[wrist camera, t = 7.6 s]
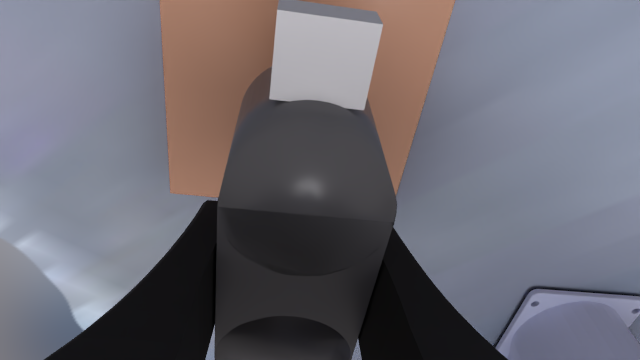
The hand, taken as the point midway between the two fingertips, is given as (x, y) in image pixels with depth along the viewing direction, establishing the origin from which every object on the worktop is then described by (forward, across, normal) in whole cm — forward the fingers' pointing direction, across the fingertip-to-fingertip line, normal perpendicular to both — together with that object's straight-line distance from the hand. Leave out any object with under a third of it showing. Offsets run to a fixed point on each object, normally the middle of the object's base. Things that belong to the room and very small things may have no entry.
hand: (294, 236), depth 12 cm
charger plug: (+2, 0, 0) cm, 2 cm away
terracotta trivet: (+9, 0, 0) cm, 9 cm away
